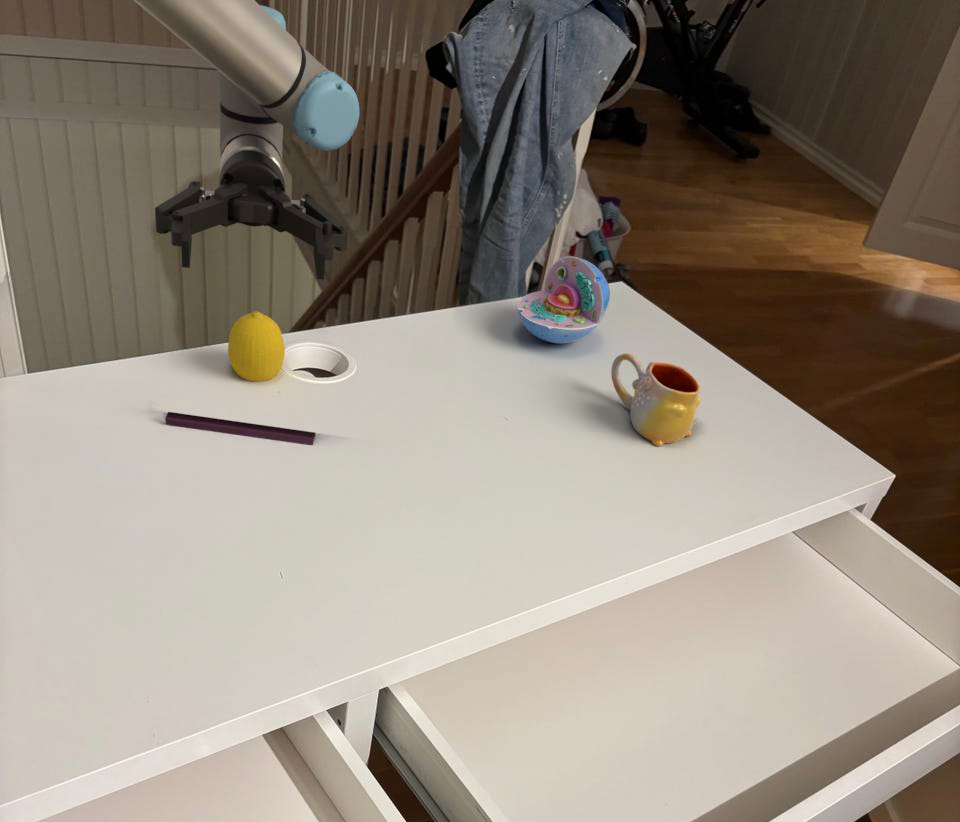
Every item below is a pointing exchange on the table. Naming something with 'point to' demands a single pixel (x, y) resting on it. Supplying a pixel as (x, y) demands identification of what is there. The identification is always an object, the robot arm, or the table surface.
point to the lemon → (256, 347)
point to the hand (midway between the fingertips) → (254, 261)
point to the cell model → (566, 302)
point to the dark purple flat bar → (239, 428)
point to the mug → (659, 399)
